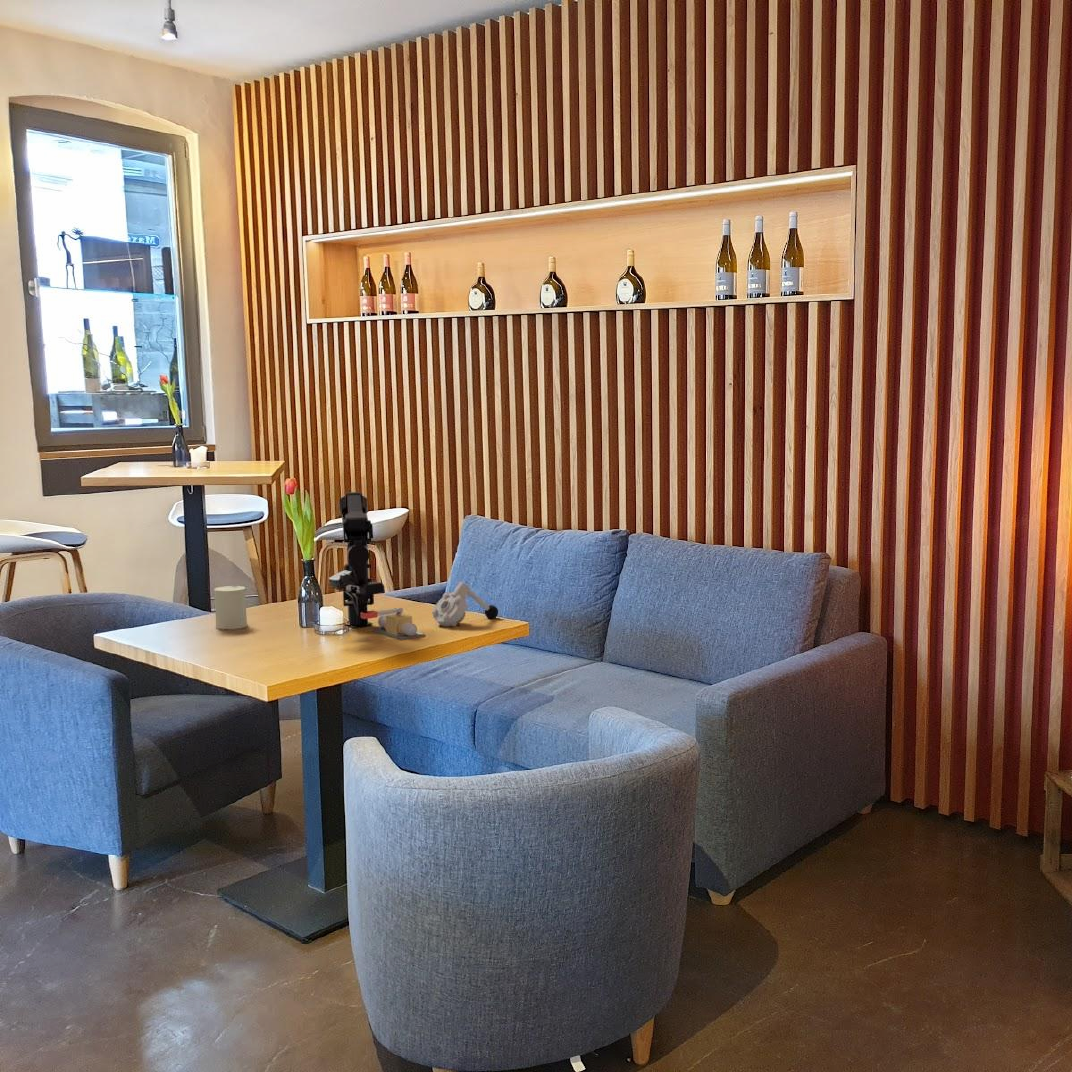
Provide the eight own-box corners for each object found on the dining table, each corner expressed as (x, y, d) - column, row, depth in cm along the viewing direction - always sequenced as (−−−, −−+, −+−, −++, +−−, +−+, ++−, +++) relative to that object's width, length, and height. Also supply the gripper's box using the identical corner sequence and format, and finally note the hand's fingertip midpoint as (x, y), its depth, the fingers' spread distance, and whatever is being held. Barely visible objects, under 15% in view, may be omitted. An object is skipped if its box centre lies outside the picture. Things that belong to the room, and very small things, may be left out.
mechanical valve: (425, 615, 336) (453, 574, 340) (462, 646, 346) (489, 606, 350) (443, 623, 328) (472, 581, 332) (481, 654, 338) (509, 614, 342)
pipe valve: (370, 630, 328) (370, 610, 327) (394, 626, 333) (394, 606, 332) (400, 640, 315) (399, 619, 314) (424, 636, 320) (424, 615, 319)
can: (252, 623, 340) (250, 584, 339) (239, 630, 331) (237, 589, 330) (224, 622, 342) (222, 583, 340) (210, 629, 333) (208, 589, 331)
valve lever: (400, 612, 324) (400, 606, 324) (404, 613, 322) (404, 607, 322) (360, 617, 316) (360, 612, 316) (364, 619, 314) (364, 613, 314)
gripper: (316, 560, 321) (318, 614, 323) (349, 567, 307) (351, 623, 309) (350, 556, 328) (352, 609, 330) (384, 563, 314) (386, 618, 316)
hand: (359, 615), depth 321 cm, fingers closed
